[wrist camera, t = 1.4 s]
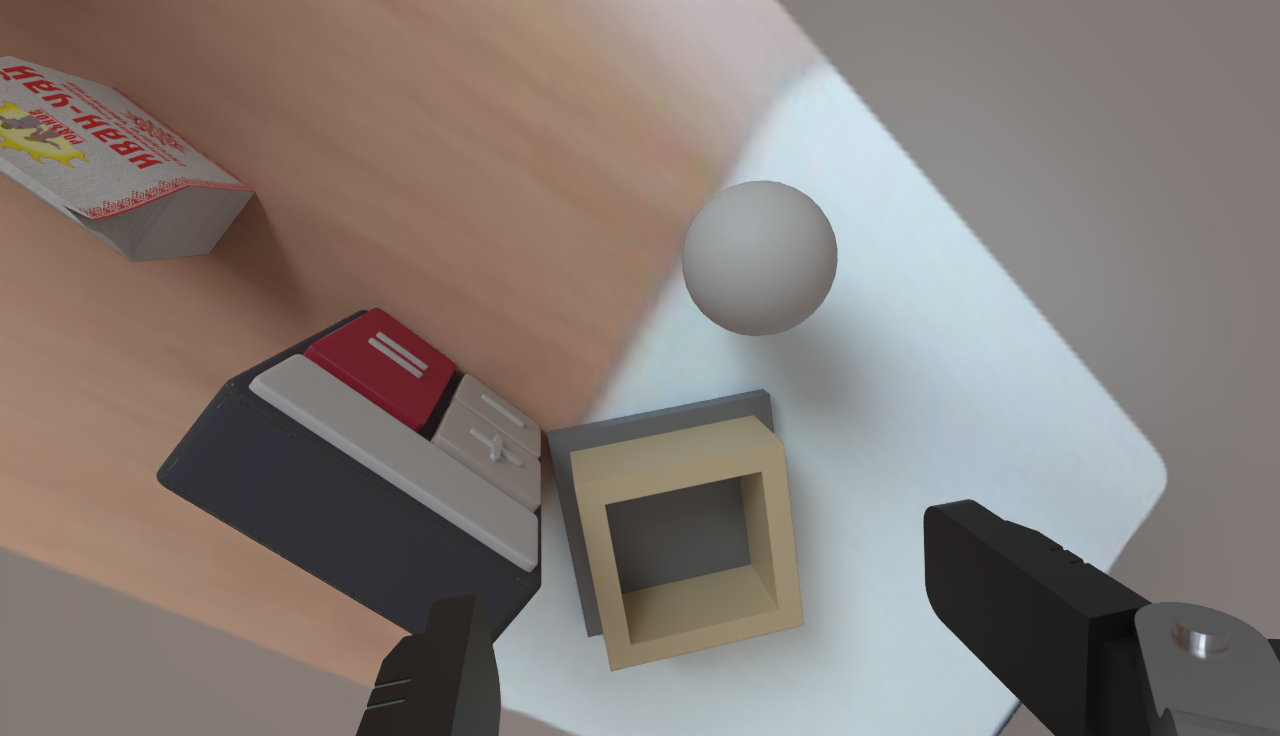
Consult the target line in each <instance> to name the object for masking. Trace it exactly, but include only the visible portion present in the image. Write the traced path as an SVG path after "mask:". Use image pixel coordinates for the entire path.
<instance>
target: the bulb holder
mask: <svg viewBox="0 0 1280 736" xmlns="http://www.w3.org/2000/svg"><path fill="white" fill-rule="evenodd" d="M547 439H548V443H549V448H550V453H551V458H552V463H553V468H554V473H555V478H556V483H557V487H558V492H559V497H560V502H561V507H562V512H563V517H564V522H565V526H566V531H567V536H568V541H569V546H570V551H571V556H572V561H573V565H574V570H575V575H576V580H577V585H578V590H579V595H580V600H581V604H582V609H583V614H584V619H585V624H586V629H587V634H588V637H591V636H596V635H600V634H604V638H605V643H606V648H607V653H608V659H609V664H610V669H611V671H615V670H619V669H623V668H627V667H632V666H636V665H640V664H644V663H648V662H652V661H657V660H661V659H665V658H669V657H673V656H678V655H682V654H686V653H690V652H694V651H698V650H703V649H707V648H711V647H715V646H719V645H723V644H728V643H732V642H736V641H740V640H744V639H748V638H753V637H757V636H761V635H765V634H769V633H774V632H778V631H782V630H786V629H790V628H794V627H799V626H803V625H804V623H803V614H802V605H801V596H800V587H799V578H798V569H797V560H796V551H795V542H794V533H793V524H792V515H791V506H790V497H789V488H788V479H787V470H786V461H785V452H784V443H783V442H782V441H781V440H780V439H779V438H778V437H777V436H776V435H774V430H773V421H772V412H771V404H770V395H769V393H767V392H766V391H765V390H764V389H762V390H757V391H752V392H747V393H742V394H737V395H732V396H727V397H722V398H717V399H712V400H707V401H702V402H697V403H692V404H687V405H681V406H676V407H671V408H666V409H661V410H656V411H651V412H646V413H641V414H636V415H631V416H626V417H621V418H616V419H611V420H606V421H601V422H596V423H591V424H586V425H581V426H576V427H571V428H566V429H561V430H556V431H551V432H547Z"/></svg>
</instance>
